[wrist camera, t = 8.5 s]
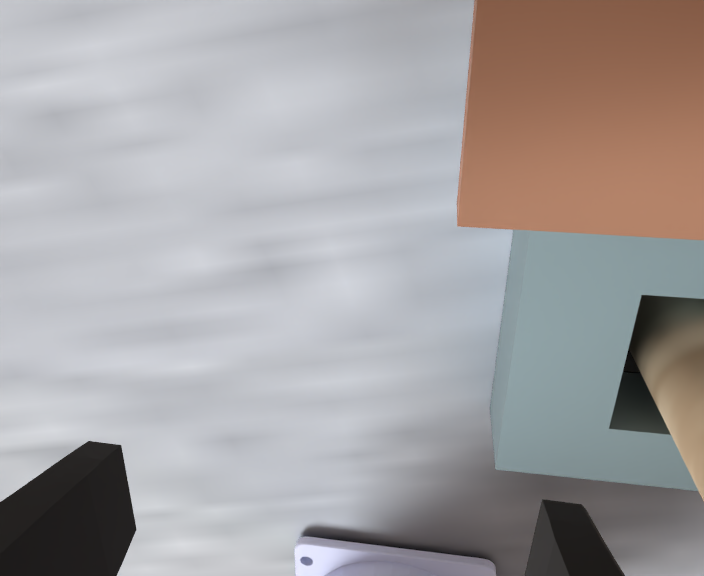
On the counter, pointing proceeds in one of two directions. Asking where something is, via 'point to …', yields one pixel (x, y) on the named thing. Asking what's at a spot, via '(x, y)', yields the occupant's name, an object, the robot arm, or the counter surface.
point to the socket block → (585, 357)
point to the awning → (585, 118)
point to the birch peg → (675, 370)
